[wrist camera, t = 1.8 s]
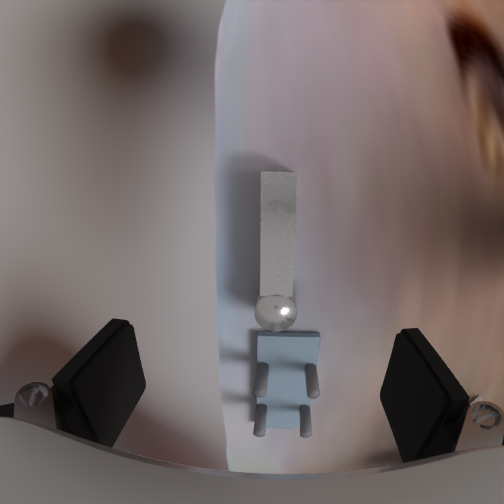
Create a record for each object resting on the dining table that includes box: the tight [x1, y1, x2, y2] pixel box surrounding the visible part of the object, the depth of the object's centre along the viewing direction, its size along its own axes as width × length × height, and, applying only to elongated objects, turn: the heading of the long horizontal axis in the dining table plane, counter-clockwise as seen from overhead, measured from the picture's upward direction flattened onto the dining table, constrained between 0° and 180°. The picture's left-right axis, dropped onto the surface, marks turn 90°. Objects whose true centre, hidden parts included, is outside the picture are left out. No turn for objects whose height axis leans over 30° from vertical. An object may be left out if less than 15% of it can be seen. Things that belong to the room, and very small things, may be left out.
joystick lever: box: [255, 171, 297, 332], centre depth 33 cm, size 17×5×4 cm, turn 0°
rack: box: [253, 331, 320, 438], centre depth 37 cm, size 18×8×7 cm, turn 0°
